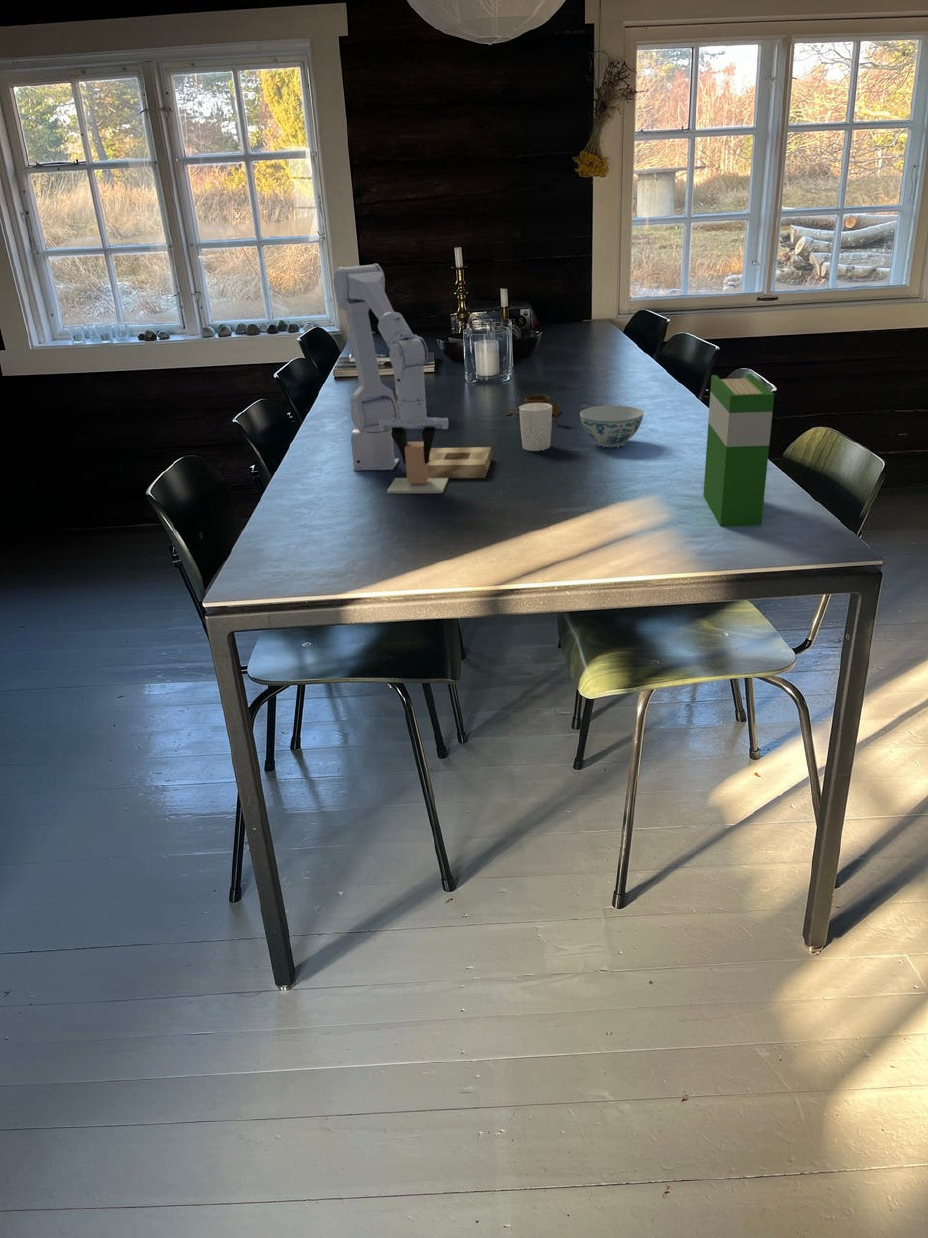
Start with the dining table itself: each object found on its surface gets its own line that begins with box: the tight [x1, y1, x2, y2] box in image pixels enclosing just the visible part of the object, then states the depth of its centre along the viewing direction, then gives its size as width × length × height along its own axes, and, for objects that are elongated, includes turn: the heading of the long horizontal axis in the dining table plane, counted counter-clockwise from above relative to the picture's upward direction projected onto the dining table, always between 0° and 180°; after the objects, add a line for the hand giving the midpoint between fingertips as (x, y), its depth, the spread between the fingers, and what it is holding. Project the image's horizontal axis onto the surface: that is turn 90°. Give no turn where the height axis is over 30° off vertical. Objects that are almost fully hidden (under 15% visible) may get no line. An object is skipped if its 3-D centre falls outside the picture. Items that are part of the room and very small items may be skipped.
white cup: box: [518, 403, 553, 452], centre depth 220 cm, size 8×8×10 cm
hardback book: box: [703, 373, 775, 527], centre depth 171 cm, size 18×7×24 cm, turn 177°
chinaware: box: [579, 404, 645, 448], centre depth 220 cm, size 15×15×8 cm
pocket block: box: [428, 446, 492, 479], centre depth 209 cm, size 14×14×3 cm
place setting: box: [505, 394, 561, 424], centre depth 249 cm, size 18×20×6 cm
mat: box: [386, 477, 449, 494], centre depth 199 cm, size 12×9×1 cm
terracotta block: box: [405, 441, 429, 483], centre depth 197 cm, size 4×4×8 cm
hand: (416, 462), depth 196 cm, fingers closed on terracotta block, 4 cm apart
